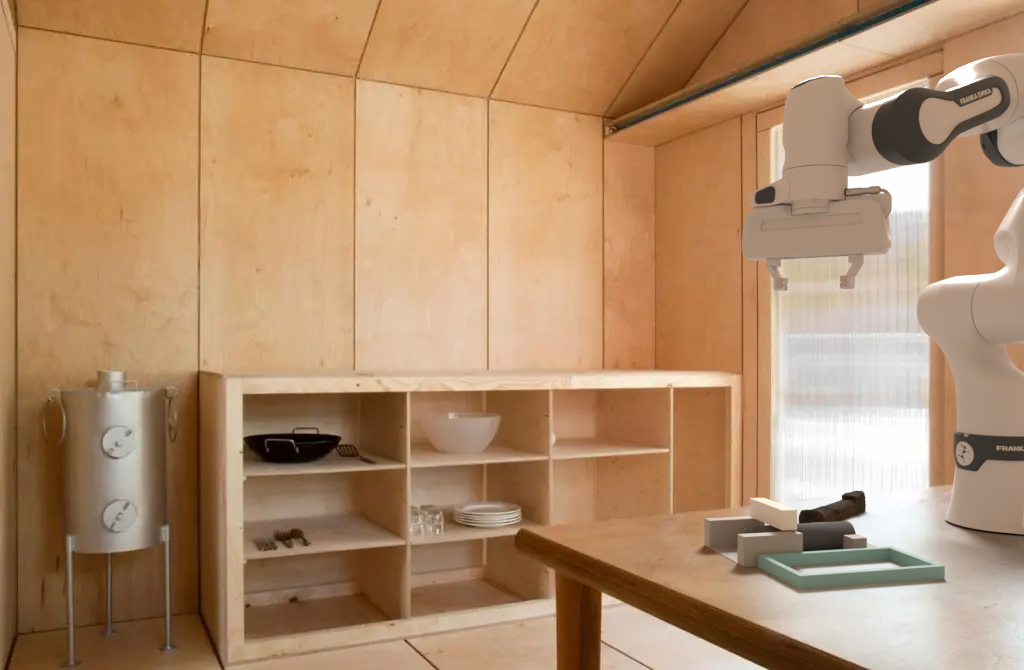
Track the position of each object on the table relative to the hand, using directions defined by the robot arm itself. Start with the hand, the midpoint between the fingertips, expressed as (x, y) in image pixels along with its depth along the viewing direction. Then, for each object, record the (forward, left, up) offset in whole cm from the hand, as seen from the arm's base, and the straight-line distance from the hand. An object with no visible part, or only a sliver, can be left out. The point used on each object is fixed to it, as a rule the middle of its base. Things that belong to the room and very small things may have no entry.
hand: (813, 289), depth 121 cm
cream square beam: (+10, +7, -31) cm, 33 cm away
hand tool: (-10, -11, -36) cm, 39 cm away
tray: (+6, +18, -36) cm, 41 cm away
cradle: (+6, +7, -36) cm, 37 cm away
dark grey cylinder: (+6, +7, -35) cm, 36 cm away
